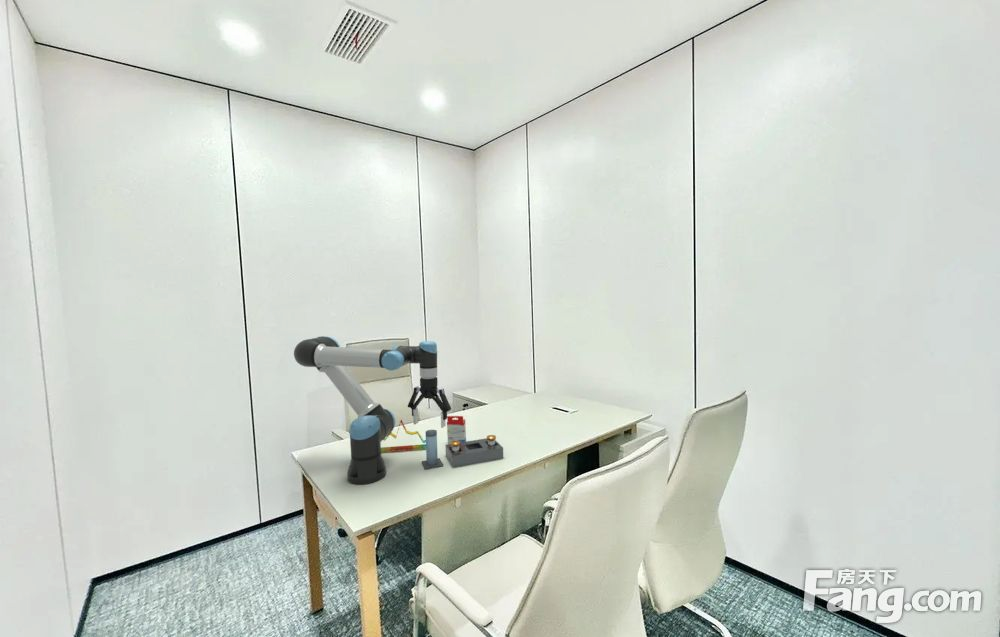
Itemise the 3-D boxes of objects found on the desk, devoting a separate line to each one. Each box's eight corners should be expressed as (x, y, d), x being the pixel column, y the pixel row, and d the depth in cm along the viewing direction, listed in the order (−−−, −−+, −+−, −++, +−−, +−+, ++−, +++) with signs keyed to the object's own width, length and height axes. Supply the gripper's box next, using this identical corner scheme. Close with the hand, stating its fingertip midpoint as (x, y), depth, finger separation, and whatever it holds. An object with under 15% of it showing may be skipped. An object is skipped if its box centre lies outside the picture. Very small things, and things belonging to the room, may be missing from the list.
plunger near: (452, 461, 171) (451, 444, 171) (450, 457, 175) (449, 441, 175) (461, 459, 173) (461, 443, 172) (459, 456, 177) (458, 440, 176)
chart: (362, 455, 183) (361, 423, 182) (364, 452, 186) (362, 421, 185) (428, 450, 187) (427, 419, 186) (429, 447, 190) (427, 417, 189)
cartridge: (434, 466, 167) (433, 433, 166) (424, 464, 169) (423, 432, 168) (439, 461, 171) (438, 430, 171) (430, 460, 173) (429, 429, 172)
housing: (453, 467, 166) (452, 456, 166) (445, 455, 179) (445, 444, 179) (503, 458, 174) (503, 447, 174) (492, 447, 187) (492, 437, 187)
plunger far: (488, 455, 177) (488, 438, 177) (485, 451, 181) (485, 435, 181) (497, 453, 179) (497, 437, 178) (494, 450, 183) (494, 434, 182)
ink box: (466, 442, 196) (465, 413, 195) (464, 445, 191) (463, 416, 190) (449, 441, 196) (448, 413, 196) (447, 445, 192) (446, 416, 191)
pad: (424, 469, 165) (424, 468, 165) (421, 462, 172) (421, 461, 172) (443, 466, 168) (443, 465, 168) (439, 459, 175) (439, 458, 175)
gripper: (458, 377, 169) (459, 425, 170) (408, 373, 177) (409, 419, 178) (450, 380, 162) (451, 431, 163) (399, 376, 170) (400, 424, 171)
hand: (429, 425), depth 171 cm, fingers open, 13 cm apart
